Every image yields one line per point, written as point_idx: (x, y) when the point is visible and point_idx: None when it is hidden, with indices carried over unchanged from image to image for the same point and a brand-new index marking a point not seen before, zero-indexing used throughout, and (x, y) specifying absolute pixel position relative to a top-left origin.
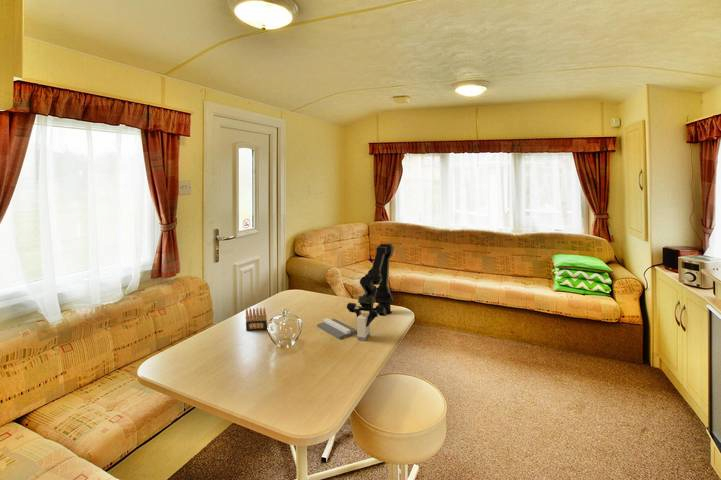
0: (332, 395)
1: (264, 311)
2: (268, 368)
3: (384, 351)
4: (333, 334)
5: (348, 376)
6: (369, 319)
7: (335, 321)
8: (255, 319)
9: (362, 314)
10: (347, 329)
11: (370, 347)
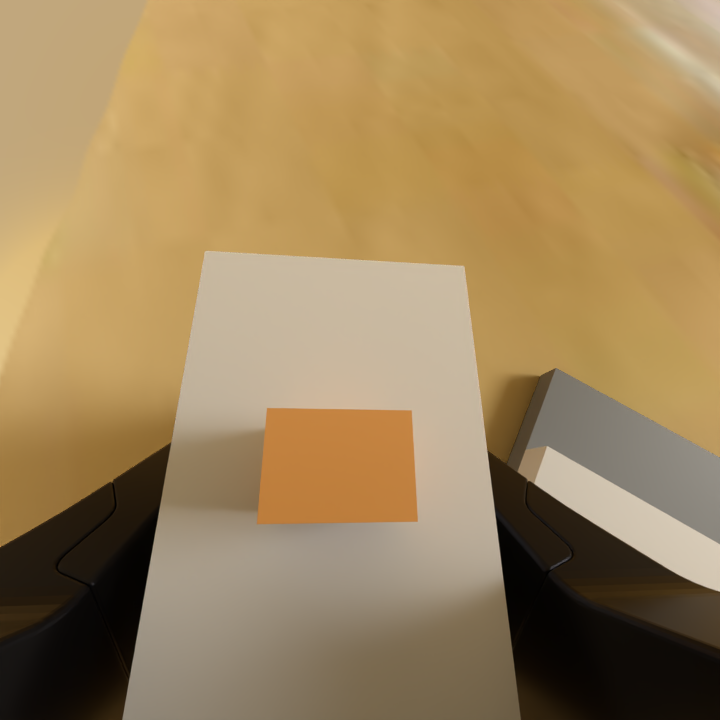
0: None
1: None
2: (655, 22)
3: (55, 267)
4: (645, 423)
5: (257, 4)
6: (127, 477)
7: None
8: None
9: (352, 418)
10: (566, 501)
11: None
